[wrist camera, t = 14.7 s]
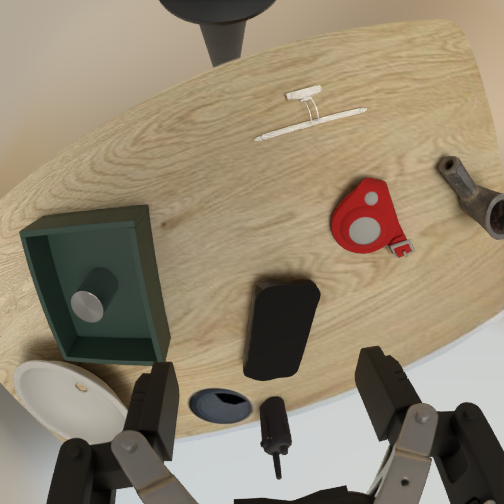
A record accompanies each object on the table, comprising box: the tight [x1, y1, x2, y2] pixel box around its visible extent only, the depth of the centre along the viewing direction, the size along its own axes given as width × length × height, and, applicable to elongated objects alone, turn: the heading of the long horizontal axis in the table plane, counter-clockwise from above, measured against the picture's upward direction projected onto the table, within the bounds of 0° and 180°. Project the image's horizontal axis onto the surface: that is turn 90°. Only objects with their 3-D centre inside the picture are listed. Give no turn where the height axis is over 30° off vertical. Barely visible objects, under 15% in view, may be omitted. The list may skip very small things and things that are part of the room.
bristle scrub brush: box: [243, 279, 321, 381], centre depth 42 cm, size 16×8×4 cm, turn 173°
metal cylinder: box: [71, 268, 118, 322], centre depth 35 cm, size 4×4×6 cm
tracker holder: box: [331, 178, 414, 258], centre depth 36 cm, size 12×4×10 cm
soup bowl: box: [13, 360, 128, 445], centre depth 44 cm, size 24×24×7 cm
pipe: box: [439, 156, 504, 240], centre depth 33 cm, size 6×13×8 cm, turn 56°
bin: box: [19, 205, 171, 366], centre depth 36 cm, size 20×16×6 cm
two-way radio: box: [260, 397, 292, 479], centre depth 44 cm, size 6×4×15 cm
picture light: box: [254, 85, 368, 141], centre depth 31 cm, size 14×4×2 cm, turn 109°
